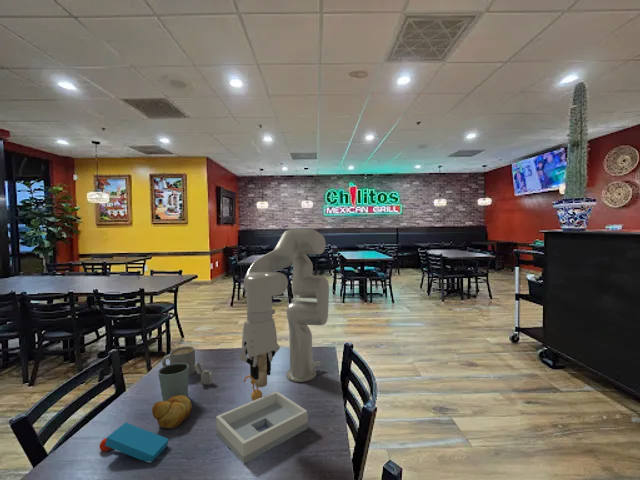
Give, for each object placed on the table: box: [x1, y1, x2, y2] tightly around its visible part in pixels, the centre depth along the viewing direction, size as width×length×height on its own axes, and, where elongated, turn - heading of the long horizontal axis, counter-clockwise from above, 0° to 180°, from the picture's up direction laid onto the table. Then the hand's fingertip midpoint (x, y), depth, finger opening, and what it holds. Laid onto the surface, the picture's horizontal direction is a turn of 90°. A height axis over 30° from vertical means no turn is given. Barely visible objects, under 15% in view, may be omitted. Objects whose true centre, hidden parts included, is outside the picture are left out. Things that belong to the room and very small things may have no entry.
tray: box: [215, 390, 309, 464], centre depth 97 cm, size 22×17×6 cm
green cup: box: [157, 363, 189, 401], centre depth 116 cm, size 10×10×12 cm
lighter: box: [194, 362, 213, 386], centre depth 129 cm, size 7×2×8 cm, turn 76°
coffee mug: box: [161, 345, 196, 376], centre depth 139 cm, size 13×10×10 cm
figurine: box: [243, 374, 263, 401], centre depth 113 cm, size 8×6×12 cm
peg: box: [254, 353, 268, 388], centre depth 96 cm, size 4×4×10 cm
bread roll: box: [151, 395, 193, 429], centre depth 104 cm, size 13×10×8 cm
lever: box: [99, 422, 170, 463], centre depth 89 cm, size 7×7×18 cm
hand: (260, 375), depth 96 cm, fingers closed on peg, 3 cm apart
